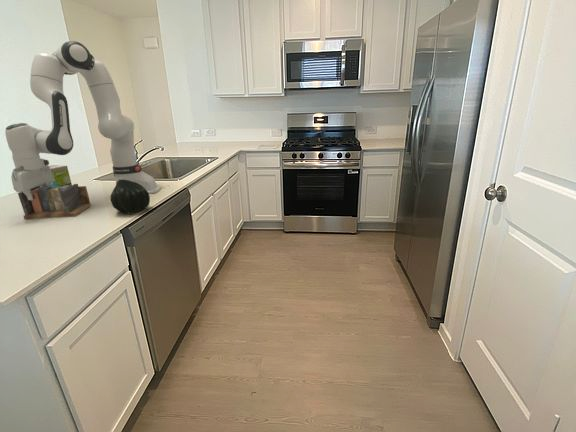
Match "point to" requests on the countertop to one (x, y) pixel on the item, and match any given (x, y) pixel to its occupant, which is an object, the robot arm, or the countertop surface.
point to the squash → (129, 197)
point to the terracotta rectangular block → (37, 201)
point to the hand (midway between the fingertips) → (38, 196)
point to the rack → (57, 201)
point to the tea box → (59, 176)
